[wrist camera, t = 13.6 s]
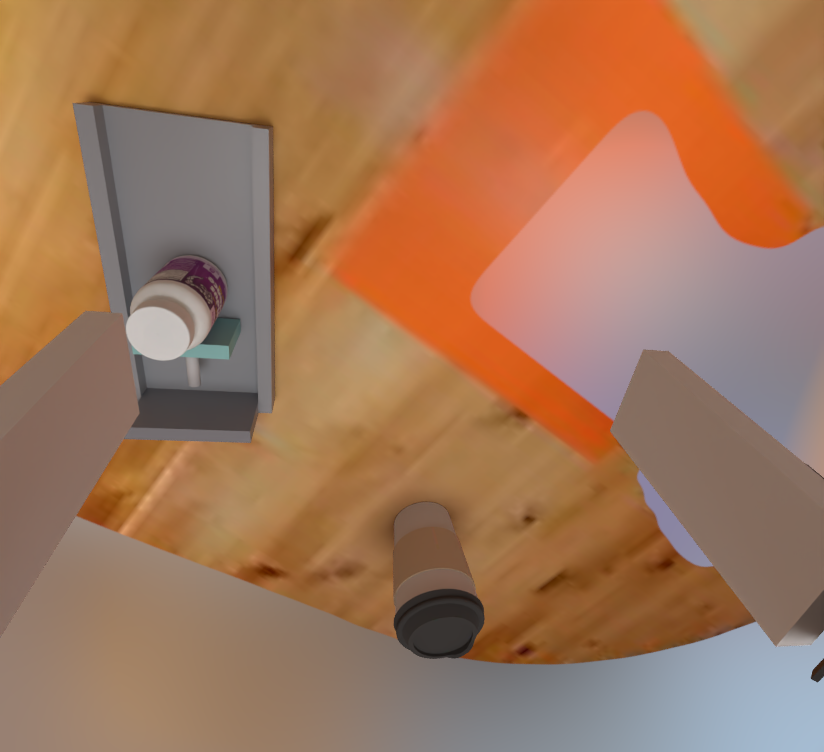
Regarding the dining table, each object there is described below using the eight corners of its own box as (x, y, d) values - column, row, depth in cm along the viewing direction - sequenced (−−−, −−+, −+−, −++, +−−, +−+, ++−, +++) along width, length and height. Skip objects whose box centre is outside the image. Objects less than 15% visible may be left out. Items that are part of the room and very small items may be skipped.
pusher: (152, 313, 41) (130, 339, 37) (240, 319, 42) (228, 345, 38) (160, 367, 44) (140, 398, 39) (242, 371, 45) (231, 402, 41)
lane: (89, 102, 34) (35, 105, 28) (273, 126, 36) (259, 135, 30) (138, 392, 46) (107, 438, 40) (274, 398, 48) (265, 443, 42)
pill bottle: (239, 306, 42) (214, 360, 34) (179, 321, 42) (139, 379, 34) (213, 245, 39) (179, 288, 31) (148, 261, 39) (97, 308, 31)
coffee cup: (368, 525, 59) (375, 648, 46) (425, 482, 56) (449, 600, 43) (418, 558, 63) (438, 679, 50) (473, 519, 60) (508, 637, 47)
